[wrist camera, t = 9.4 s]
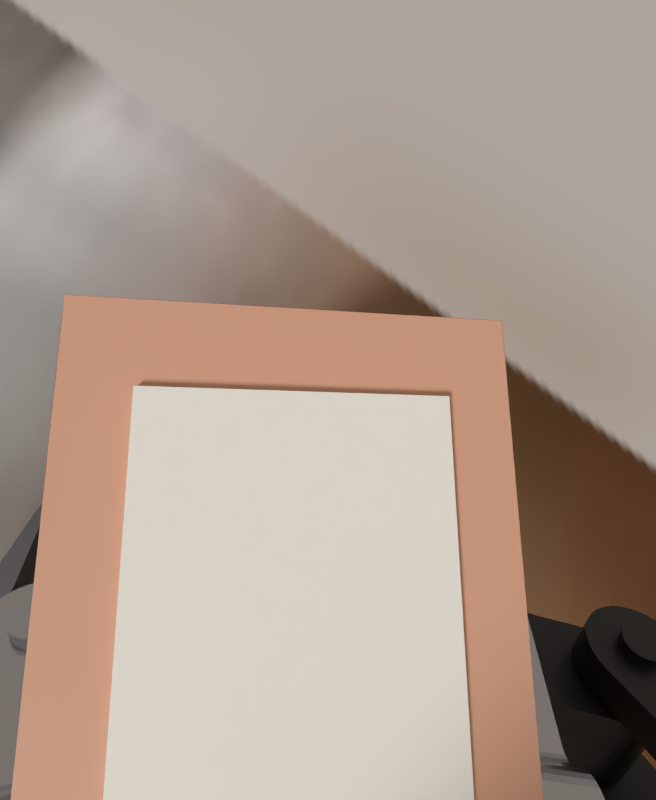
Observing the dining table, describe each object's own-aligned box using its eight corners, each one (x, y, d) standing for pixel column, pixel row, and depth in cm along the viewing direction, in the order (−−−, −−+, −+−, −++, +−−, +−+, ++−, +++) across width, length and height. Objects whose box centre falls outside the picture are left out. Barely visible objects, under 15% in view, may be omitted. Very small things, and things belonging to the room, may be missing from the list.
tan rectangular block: (171, 659, 14) (-53, 1179, 3) (182, 468, 16) (50, 290, 4) (307, 652, 15) (572, 1058, 3) (307, 469, 16) (506, 316, 5)
